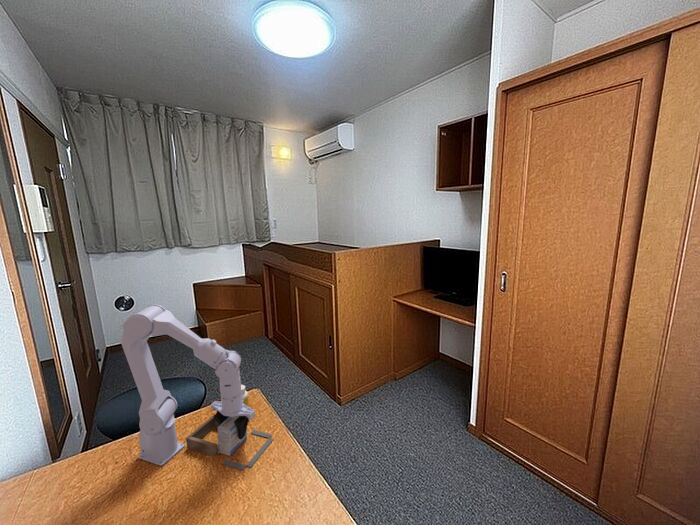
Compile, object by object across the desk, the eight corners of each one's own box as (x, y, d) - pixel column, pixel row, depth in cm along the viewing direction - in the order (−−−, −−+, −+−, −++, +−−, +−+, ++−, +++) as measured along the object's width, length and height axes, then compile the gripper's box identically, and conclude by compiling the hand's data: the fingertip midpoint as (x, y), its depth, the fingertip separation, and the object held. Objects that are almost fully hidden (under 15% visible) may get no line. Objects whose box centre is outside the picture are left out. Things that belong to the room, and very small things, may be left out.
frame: (222, 464, 84) (222, 463, 84) (253, 430, 97) (253, 429, 97) (247, 472, 82) (247, 471, 81) (276, 436, 95) (276, 435, 95)
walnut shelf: (187, 448, 90) (186, 438, 90) (214, 424, 101) (214, 414, 100) (215, 457, 87) (214, 446, 86) (241, 431, 97) (240, 421, 97)
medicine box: (229, 457, 87) (229, 430, 85) (217, 452, 88) (217, 426, 86) (247, 438, 94) (247, 413, 92) (235, 433, 95) (235, 409, 94)
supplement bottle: (248, 406, 109) (246, 382, 108) (250, 415, 105) (248, 390, 103) (232, 410, 107) (230, 385, 106) (233, 420, 102) (231, 393, 101)
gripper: (260, 390, 90) (263, 431, 92) (221, 382, 95) (224, 421, 97) (245, 404, 83) (248, 447, 85) (203, 395, 88) (207, 436, 90)
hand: (234, 435), depth 91 cm, fingers open, 5 cm apart
